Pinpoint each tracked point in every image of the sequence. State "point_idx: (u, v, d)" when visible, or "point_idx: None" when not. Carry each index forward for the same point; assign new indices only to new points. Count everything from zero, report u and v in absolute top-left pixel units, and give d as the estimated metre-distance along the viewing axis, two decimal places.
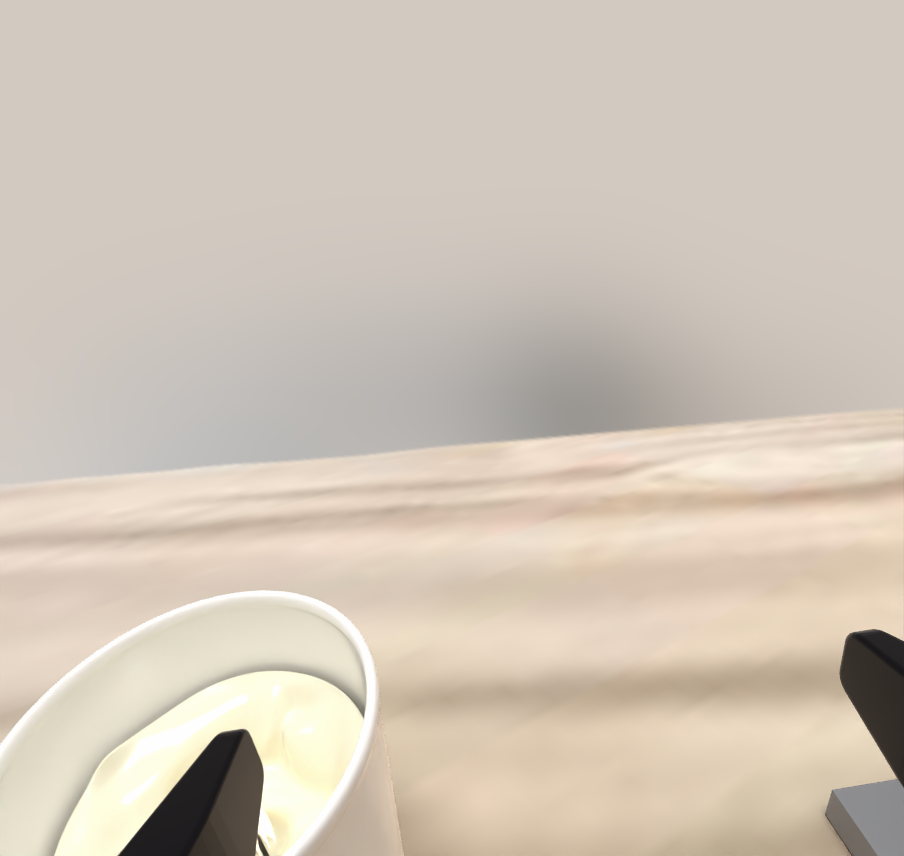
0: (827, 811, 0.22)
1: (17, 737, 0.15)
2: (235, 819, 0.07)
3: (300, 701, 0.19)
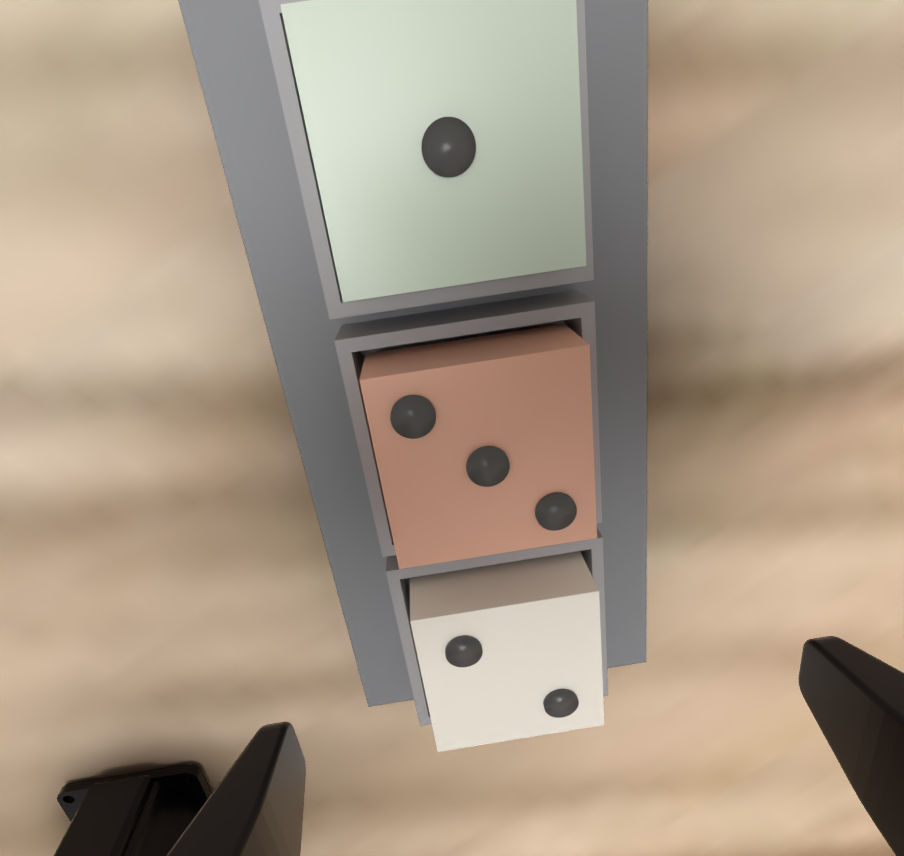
0: None
1: None
2: (283, 811, 0.07)
3: None
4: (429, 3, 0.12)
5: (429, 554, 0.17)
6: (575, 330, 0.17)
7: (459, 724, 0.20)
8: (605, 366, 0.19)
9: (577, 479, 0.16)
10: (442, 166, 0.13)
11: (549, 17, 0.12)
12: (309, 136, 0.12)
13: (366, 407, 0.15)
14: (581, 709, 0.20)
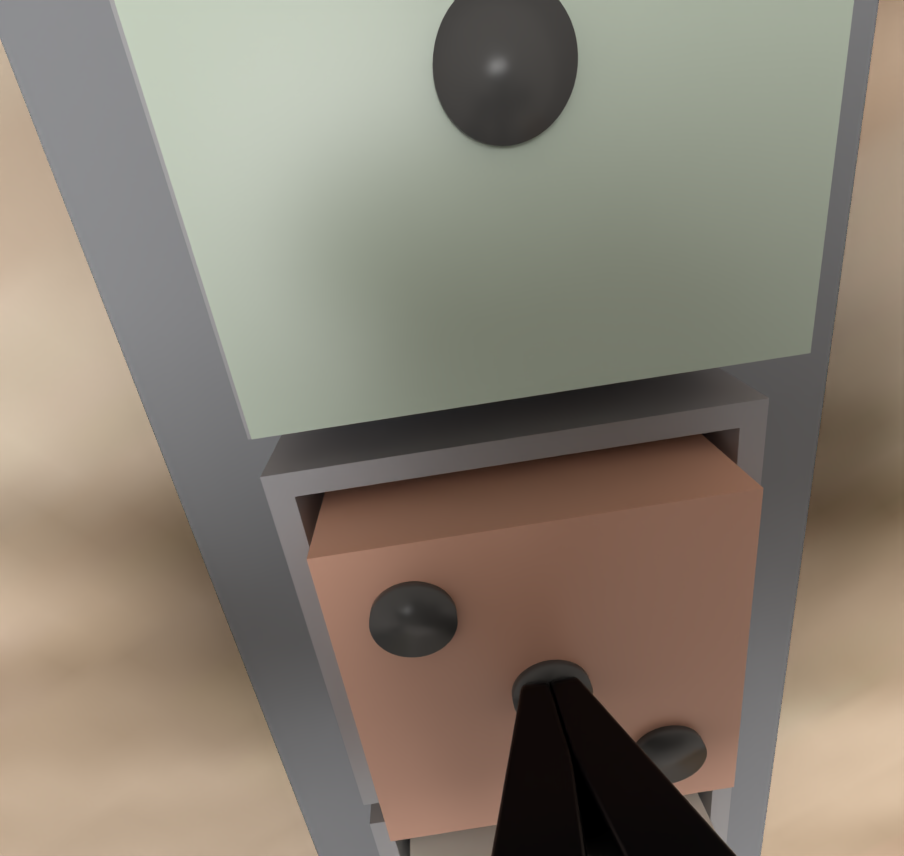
0: None
1: None
2: None
3: None
4: None
5: (442, 820, 0.10)
6: (714, 440, 0.09)
7: None
8: None
9: (711, 705, 0.09)
10: (487, 118, 0.05)
11: None
12: (127, 33, 0.05)
13: (322, 605, 0.08)
14: None
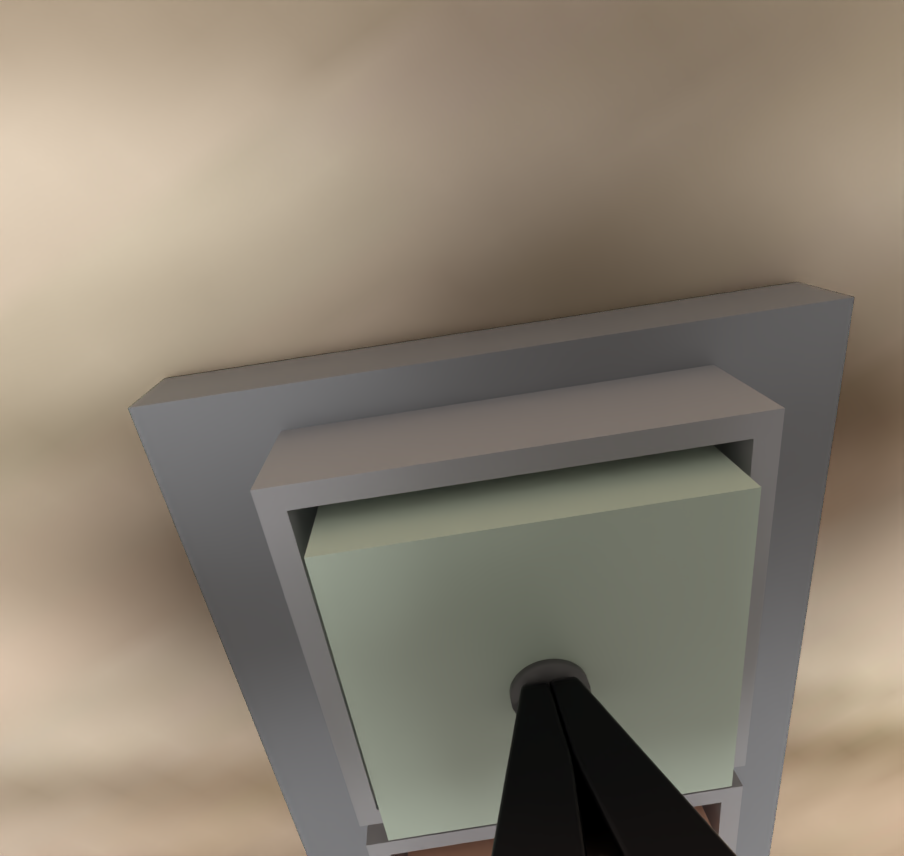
0: (163, 381, 0.10)
1: None
2: None
3: None
4: (533, 543, 0.07)
5: None
6: None
7: None
8: None
9: None
10: None
11: (714, 547, 0.08)
12: (345, 691, 0.08)
13: None
14: None
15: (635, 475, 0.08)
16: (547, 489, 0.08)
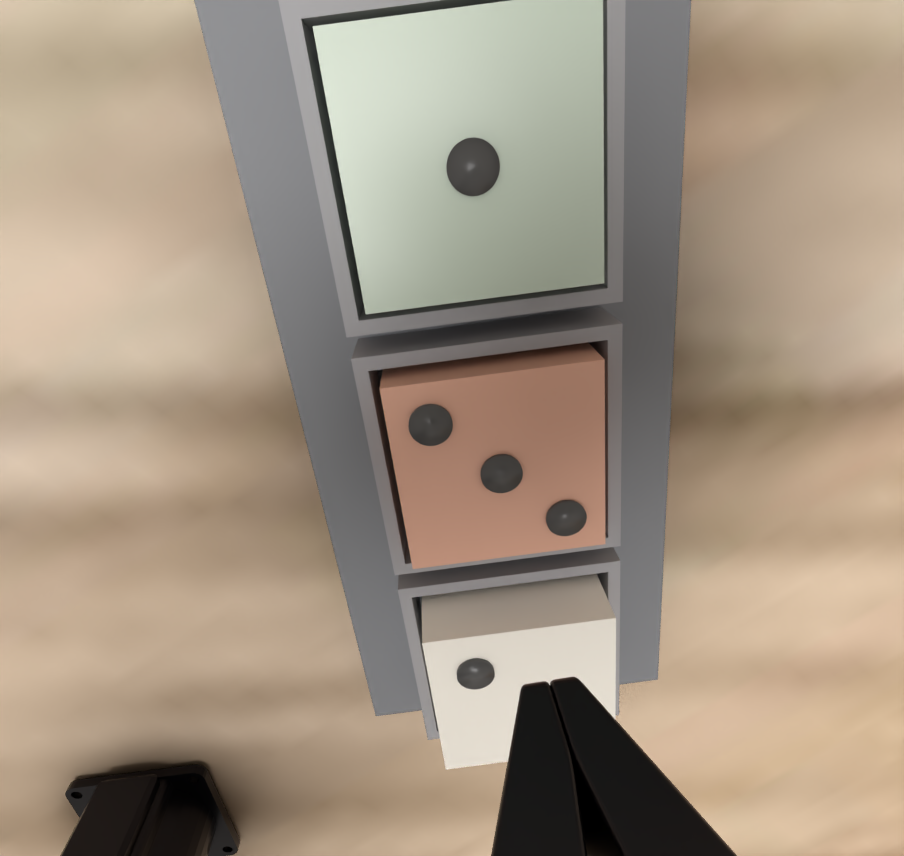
0: None
1: None
2: None
3: None
4: (458, 26, 0.12)
5: (442, 556, 0.17)
6: (600, 351, 0.16)
7: (468, 743, 0.19)
8: (629, 385, 0.18)
9: (588, 487, 0.17)
10: (466, 185, 0.13)
11: (576, 41, 0.12)
12: (337, 154, 0.13)
13: (385, 415, 0.15)
14: None
15: None
16: None
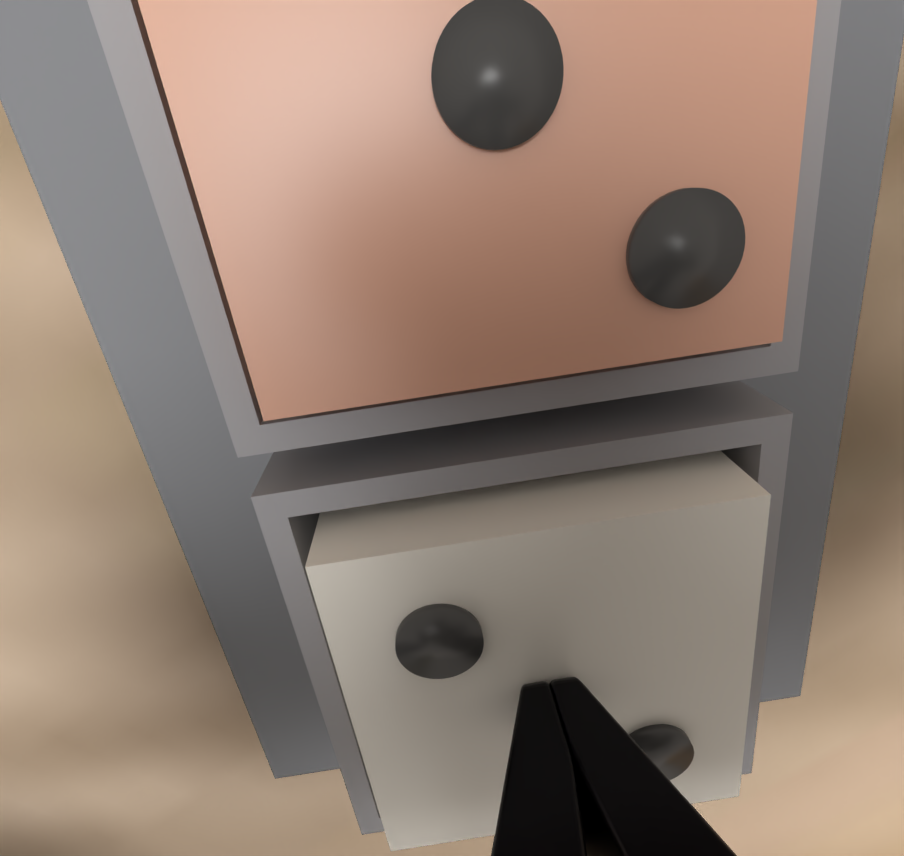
0: None
1: None
2: None
3: None
4: None
5: (340, 380, 0.06)
6: None
7: (435, 798, 0.09)
8: None
9: (754, 143, 0.06)
10: None
11: None
12: None
13: None
14: (696, 767, 0.09)
15: None
16: None
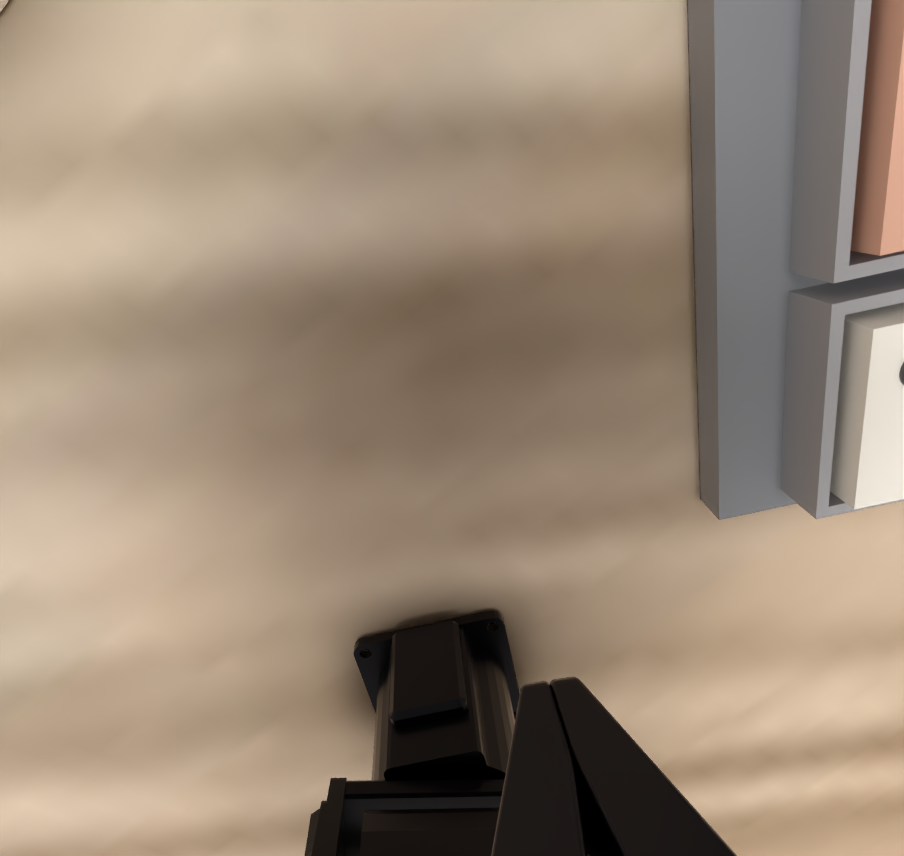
0: None
1: None
2: None
3: None
4: None
5: None
6: None
7: (887, 472, 0.18)
8: None
9: None
10: None
11: None
12: None
13: None
14: None
15: None
16: None
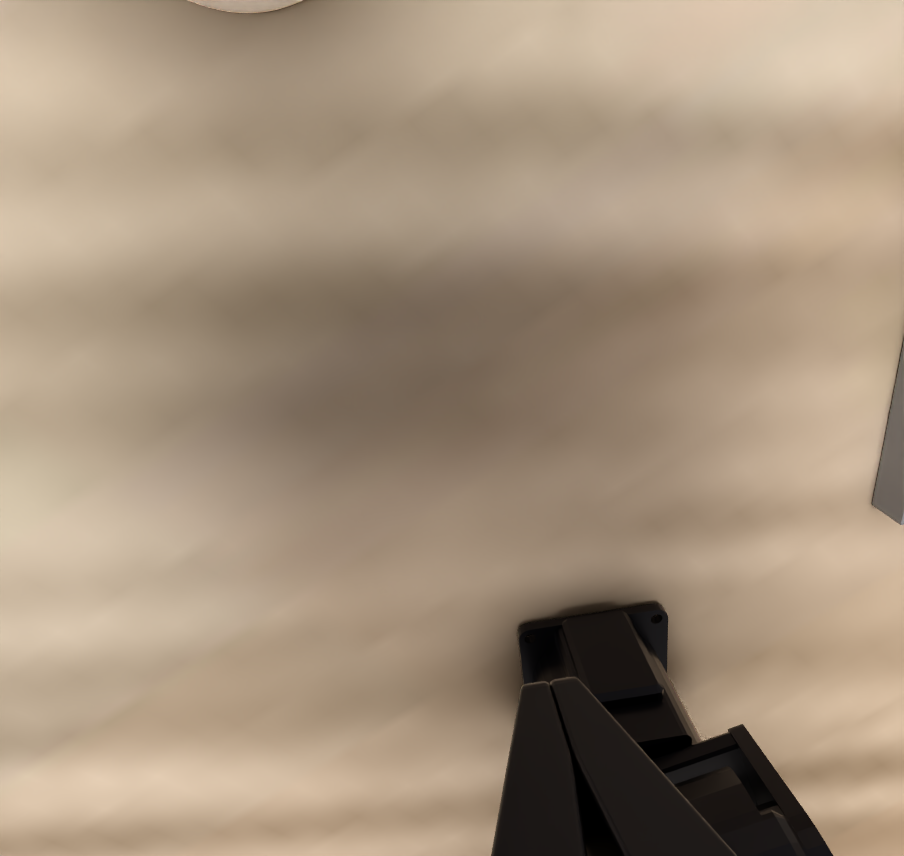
0: None
1: None
2: None
3: None
4: None
5: None
6: None
7: None
8: None
9: None
10: None
11: None
12: None
13: None
14: None
15: None
16: None
